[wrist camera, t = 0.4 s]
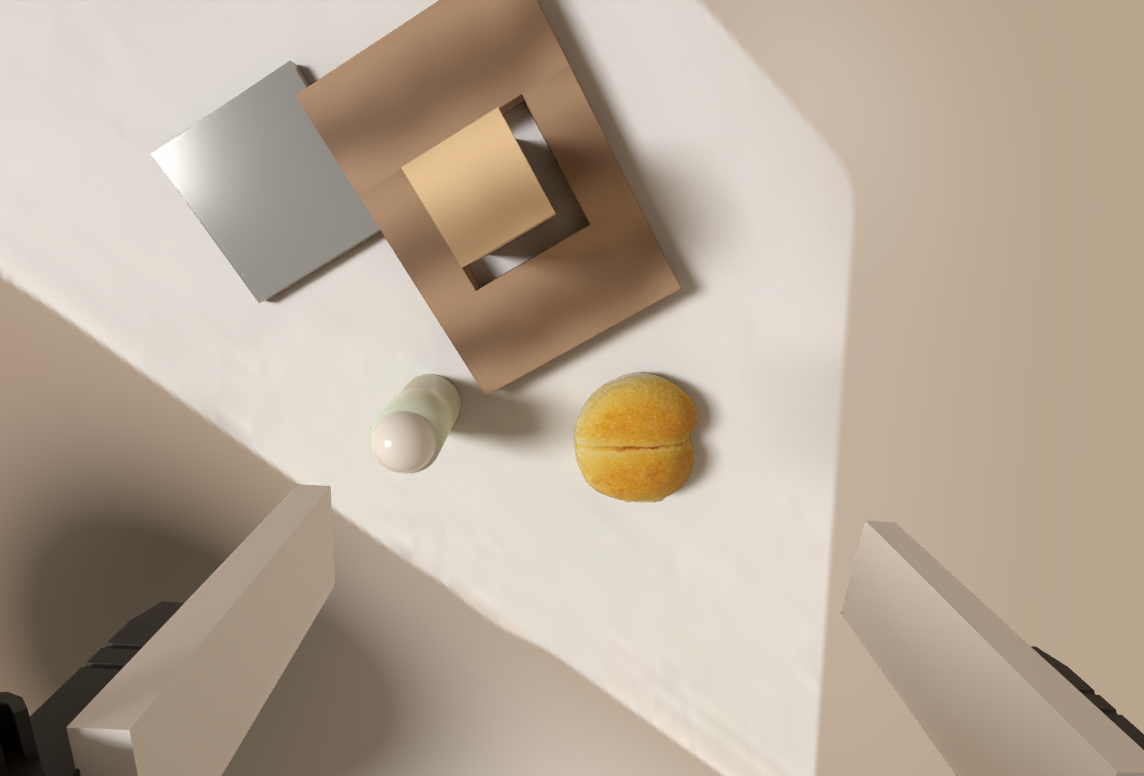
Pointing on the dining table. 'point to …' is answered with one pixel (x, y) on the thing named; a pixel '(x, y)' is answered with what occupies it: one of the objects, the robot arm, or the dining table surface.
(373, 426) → the sage shaker
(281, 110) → the slate board
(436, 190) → the oak block
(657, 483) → the bread roll
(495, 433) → the dining table surface
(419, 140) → the walnut board
